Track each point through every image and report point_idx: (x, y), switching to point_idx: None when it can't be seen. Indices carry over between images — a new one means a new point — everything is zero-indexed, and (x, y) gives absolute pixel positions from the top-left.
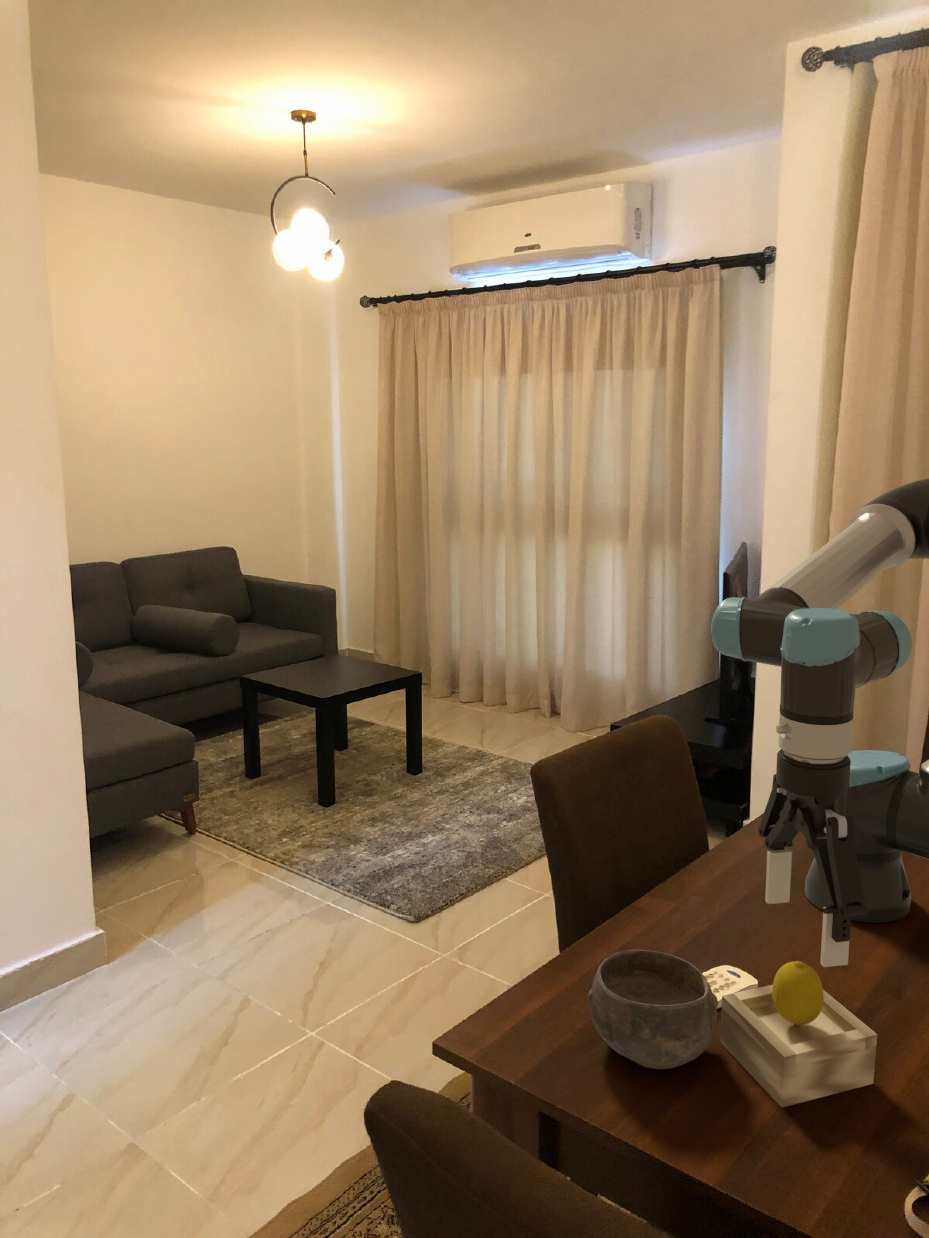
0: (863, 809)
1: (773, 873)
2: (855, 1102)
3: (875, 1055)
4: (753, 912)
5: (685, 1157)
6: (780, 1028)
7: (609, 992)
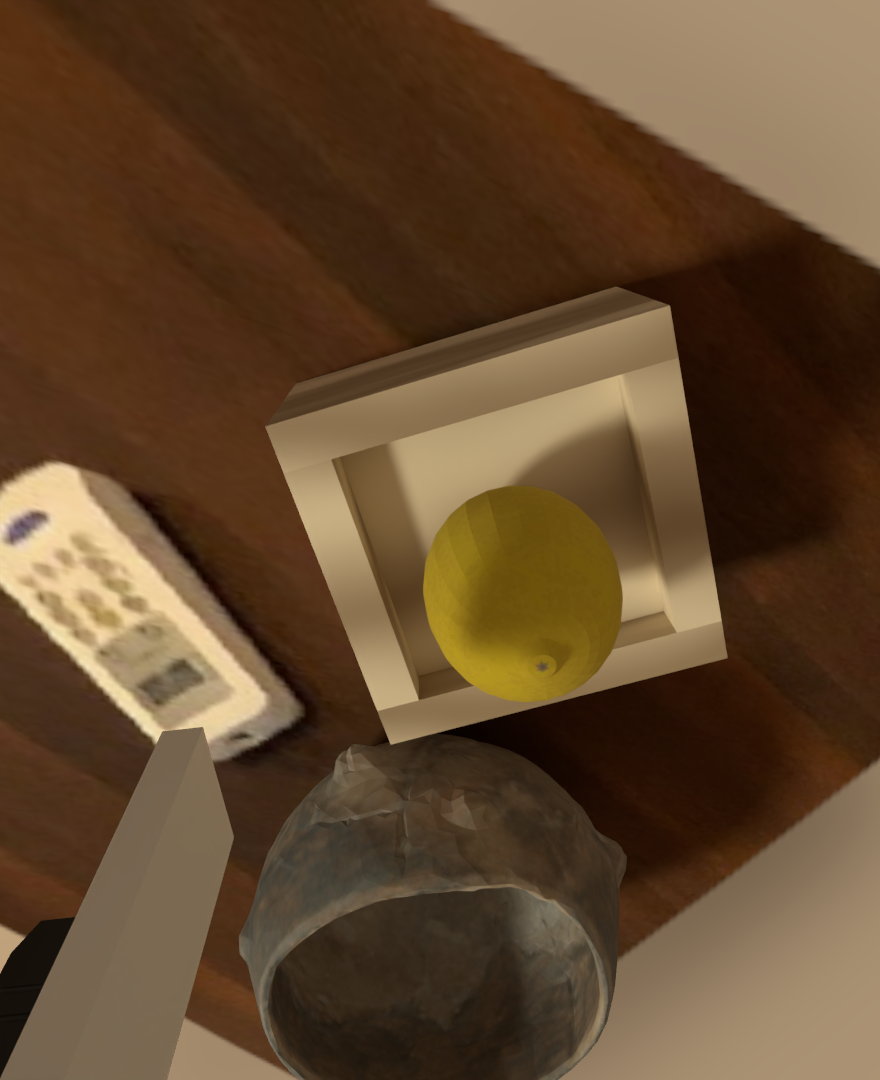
0: None
1: (169, 1008)
2: (687, 379)
3: (644, 296)
4: None
5: (781, 804)
6: None
7: None
